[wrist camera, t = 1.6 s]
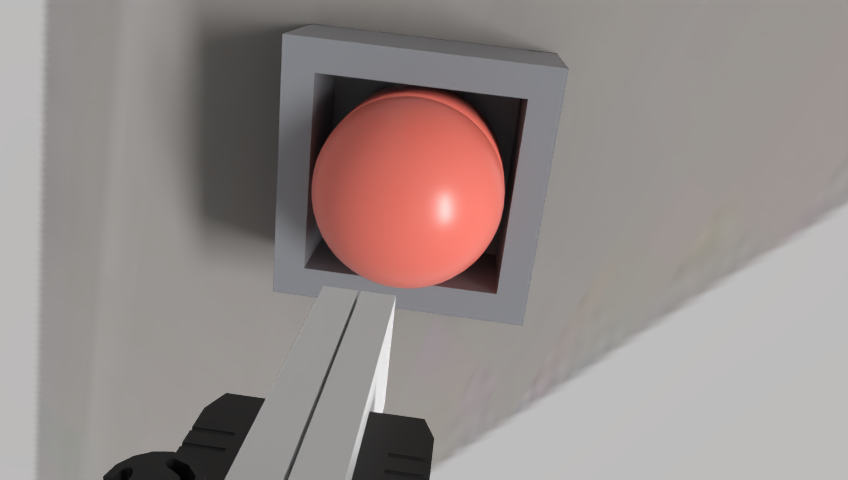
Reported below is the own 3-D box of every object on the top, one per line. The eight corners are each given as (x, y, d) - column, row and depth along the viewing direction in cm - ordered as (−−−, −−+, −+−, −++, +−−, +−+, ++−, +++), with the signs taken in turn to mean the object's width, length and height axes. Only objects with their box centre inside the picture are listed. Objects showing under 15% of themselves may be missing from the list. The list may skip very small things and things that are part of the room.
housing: (311, 23, 29) (282, 33, 25) (557, 53, 29) (568, 68, 25) (300, 250, 33) (272, 291, 29) (518, 279, 33) (522, 325, 28)
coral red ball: (338, 70, 29) (294, 102, 22) (515, 92, 28) (523, 131, 22) (327, 235, 31) (285, 307, 25) (489, 256, 31) (490, 335, 24)
